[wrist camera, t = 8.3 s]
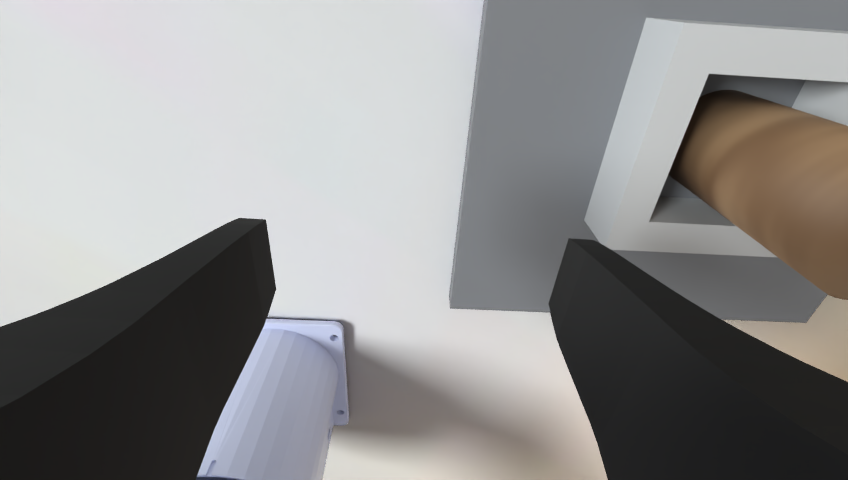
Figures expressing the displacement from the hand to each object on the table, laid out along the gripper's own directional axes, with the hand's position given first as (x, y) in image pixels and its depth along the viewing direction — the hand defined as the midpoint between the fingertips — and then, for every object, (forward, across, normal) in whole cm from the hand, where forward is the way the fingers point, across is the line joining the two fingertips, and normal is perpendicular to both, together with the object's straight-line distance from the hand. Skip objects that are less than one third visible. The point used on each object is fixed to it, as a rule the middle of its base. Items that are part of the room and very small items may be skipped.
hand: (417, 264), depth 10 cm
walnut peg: (+8, -12, -1) cm, 15 cm away
